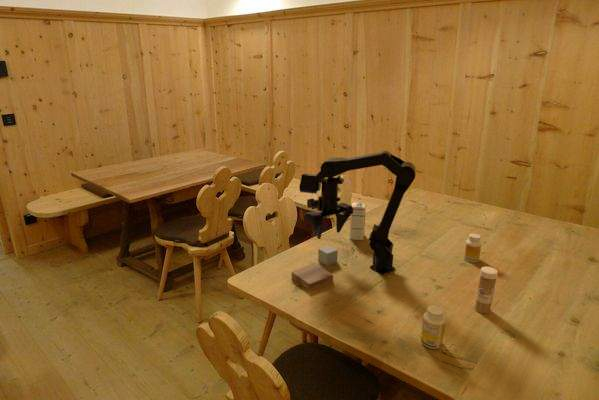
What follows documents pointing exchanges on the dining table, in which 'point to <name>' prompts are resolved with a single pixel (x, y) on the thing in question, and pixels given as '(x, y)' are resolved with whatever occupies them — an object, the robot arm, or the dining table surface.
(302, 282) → the walnut block
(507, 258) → the dining table surface
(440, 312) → the supplement bottle
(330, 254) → the gray cube
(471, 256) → the supplement bottle
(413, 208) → the dining table surface
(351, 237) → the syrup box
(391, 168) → the robot arm
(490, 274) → the sprinkles bottle
